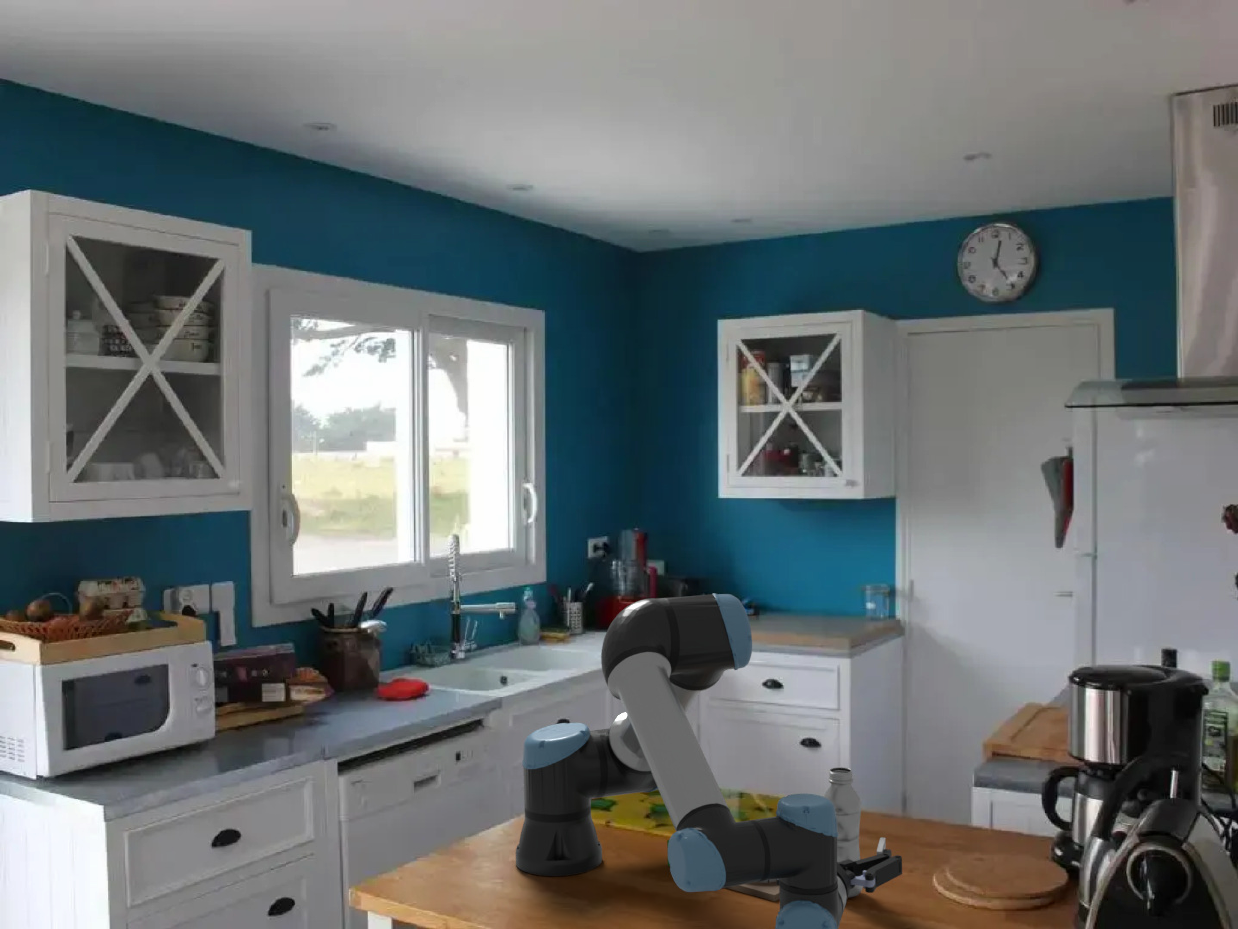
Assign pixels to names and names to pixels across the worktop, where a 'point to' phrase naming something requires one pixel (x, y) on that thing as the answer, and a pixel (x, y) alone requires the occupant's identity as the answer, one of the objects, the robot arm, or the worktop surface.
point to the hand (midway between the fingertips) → (837, 843)
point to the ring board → (760, 889)
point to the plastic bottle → (845, 816)
